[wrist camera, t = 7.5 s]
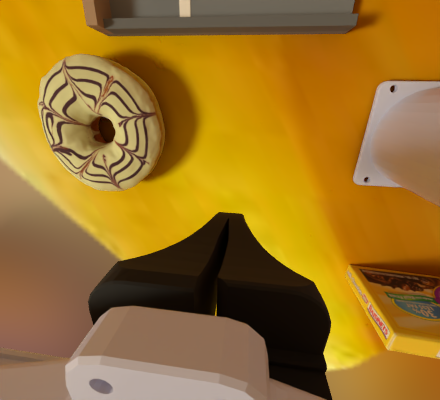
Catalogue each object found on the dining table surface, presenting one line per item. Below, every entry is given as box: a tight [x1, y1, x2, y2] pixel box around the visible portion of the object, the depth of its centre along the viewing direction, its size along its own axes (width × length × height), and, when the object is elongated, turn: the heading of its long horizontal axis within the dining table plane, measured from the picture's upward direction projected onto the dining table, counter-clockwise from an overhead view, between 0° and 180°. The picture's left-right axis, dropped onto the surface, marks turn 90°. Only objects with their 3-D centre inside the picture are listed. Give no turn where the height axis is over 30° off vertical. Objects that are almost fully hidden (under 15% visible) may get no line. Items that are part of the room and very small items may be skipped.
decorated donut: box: [38, 54, 165, 191], centre depth 19 cm, size 10×11×4 cm
